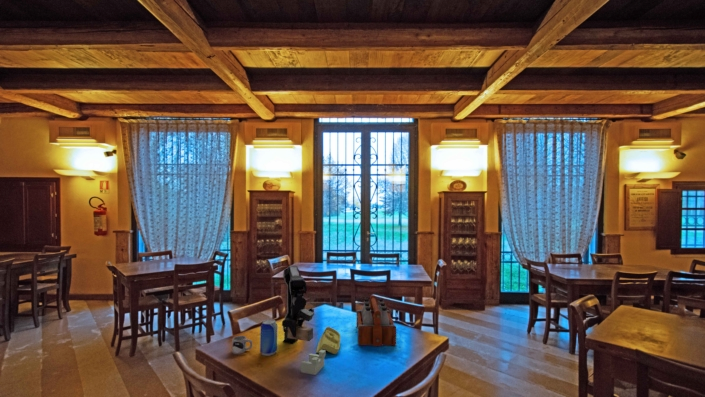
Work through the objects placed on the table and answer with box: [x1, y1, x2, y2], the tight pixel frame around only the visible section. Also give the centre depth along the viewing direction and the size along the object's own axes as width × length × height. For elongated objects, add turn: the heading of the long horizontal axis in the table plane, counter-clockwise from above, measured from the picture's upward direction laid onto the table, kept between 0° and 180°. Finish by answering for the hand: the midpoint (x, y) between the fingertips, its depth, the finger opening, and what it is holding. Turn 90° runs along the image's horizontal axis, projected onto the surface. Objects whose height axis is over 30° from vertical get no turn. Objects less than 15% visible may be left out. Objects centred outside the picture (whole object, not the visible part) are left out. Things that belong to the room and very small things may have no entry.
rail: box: [287, 325, 314, 342], centre depth 159 cm, size 12×4×5 cm, turn 71°
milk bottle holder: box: [356, 294, 397, 347], centre depth 190 cm, size 21×35×19 cm, turn 1°
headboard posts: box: [300, 349, 327, 376], centre depth 149 cm, size 8×10×7 cm
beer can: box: [259, 318, 278, 357], centre depth 166 cm, size 8×8×16 cm
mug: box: [231, 335, 253, 355], centre depth 167 cm, size 10×7×7 cm, turn 94°
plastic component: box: [315, 326, 341, 355], centre depth 174 cm, size 20×7×10 cm
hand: (296, 335), depth 159 cm, fingers closed on rail, 4 cm apart
